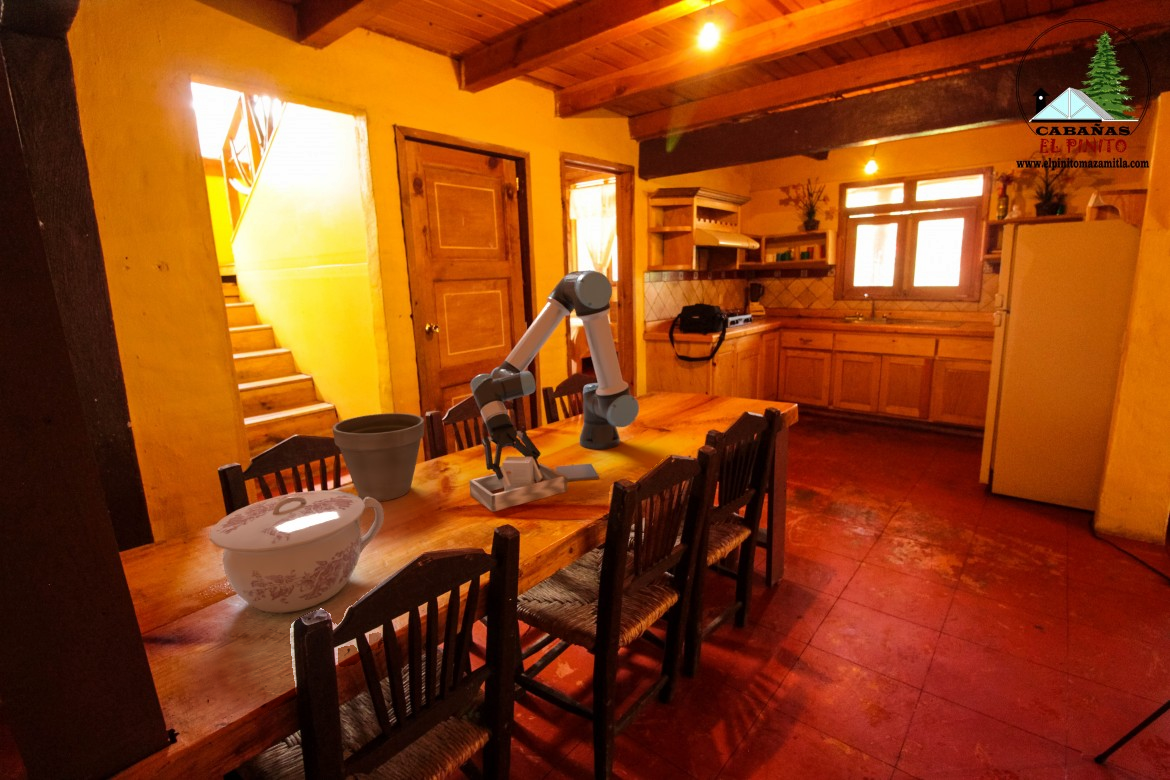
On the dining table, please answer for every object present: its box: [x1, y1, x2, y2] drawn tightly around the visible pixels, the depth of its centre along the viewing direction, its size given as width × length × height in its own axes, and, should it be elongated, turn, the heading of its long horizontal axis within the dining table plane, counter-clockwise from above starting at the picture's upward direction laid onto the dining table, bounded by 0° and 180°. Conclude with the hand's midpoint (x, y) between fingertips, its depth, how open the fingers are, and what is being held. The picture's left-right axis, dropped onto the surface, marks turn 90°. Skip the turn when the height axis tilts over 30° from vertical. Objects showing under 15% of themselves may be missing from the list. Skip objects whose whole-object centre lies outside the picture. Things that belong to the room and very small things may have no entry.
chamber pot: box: [208, 490, 385, 614], centre depth 111 cm, size 28×28×21 cm
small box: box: [502, 456, 535, 492], centre depth 162 cm, size 8×6×10 cm
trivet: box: [554, 463, 599, 482], centre depth 178 cm, size 12×12×1 cm
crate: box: [468, 463, 568, 513], centre depth 163 cm, size 24×15×4 cm, turn 125°
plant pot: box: [332, 412, 425, 502], centre depth 164 cm, size 25×25×22 cm
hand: (524, 483), depth 159 cm, fingers closed on small box, 9 cm apart
